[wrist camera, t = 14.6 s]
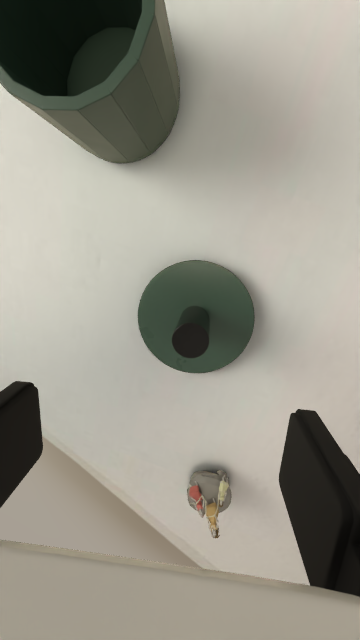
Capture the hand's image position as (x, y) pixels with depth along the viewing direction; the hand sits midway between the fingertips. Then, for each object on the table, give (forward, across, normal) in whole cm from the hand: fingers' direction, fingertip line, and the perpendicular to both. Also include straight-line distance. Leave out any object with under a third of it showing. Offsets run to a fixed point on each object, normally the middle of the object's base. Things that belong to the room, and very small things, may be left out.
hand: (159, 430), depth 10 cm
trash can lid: (+15, -1, 0) cm, 15 cm away
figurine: (+16, -4, +18) cm, 24 cm away
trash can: (+16, +6, -17) cm, 24 cm away
